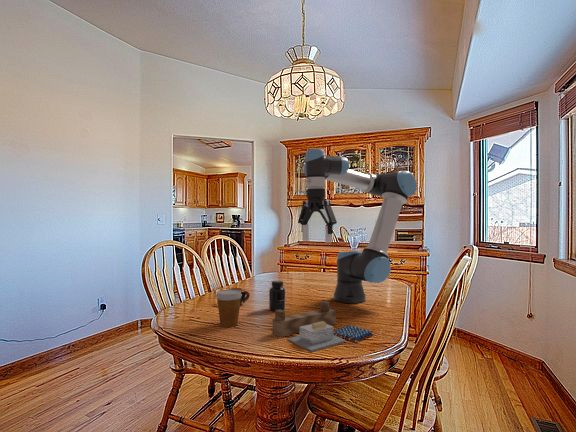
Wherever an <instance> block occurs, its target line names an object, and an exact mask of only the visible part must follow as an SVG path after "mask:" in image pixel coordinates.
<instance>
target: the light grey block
mask: <svg viewBox="0 0 576 432" xmlns="http://www.w3.org/2000/svg"><path fill="white" fill-rule="evenodd" d="M333 331H334V325H328V324H326V322H323V321H321V322H317V323H313V324H310V325H306V326H301V327H300V333H299V336H300V340H302V341H304V342H306V343H308V344H311V345H313V344H317V343H321V342H324V341H328V340H332V339H333V335H334V334H333V333H334V332H333Z"/></svg>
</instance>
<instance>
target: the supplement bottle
mask: <svg viewBox="0 0 576 432" xmlns="http://www.w3.org/2000/svg"><path fill="white" fill-rule="evenodd" d="M268 292H269V295H268V297H269V299H268V308H269V310H270V311H272V312H275V310H279V309H280V310H283V311H285V310H286V288H285V287H284V281H282V280H271V287H270V288H269V290H268Z"/></svg>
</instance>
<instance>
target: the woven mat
mask: <svg viewBox="0 0 576 432" xmlns="http://www.w3.org/2000/svg"><path fill="white" fill-rule="evenodd" d="M333 335H334V336H337V337H339V338H342V339H343V338H344V340H347V339H348V341H351V342H354V343H358V341H359V342H361V341H362V340H366V339H367V338H369V337H372V336H374V331H372V330H370V329H366V328H361V327H359V326H354V325H350V324H349V325H346V326H343V327H340V328H338V329H335V330H333ZM345 338H346V339H345ZM360 340H361V341H360Z"/></svg>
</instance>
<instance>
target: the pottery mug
mask: <svg viewBox="0 0 576 432" xmlns="http://www.w3.org/2000/svg"><path fill="white" fill-rule="evenodd" d="M229 289H230V288H228V289H227V290H229ZM231 289H233V290H239V291H241V294H242V296H241V300H240V307H241V306H242V304H245V303H246V302H247V301H248V300H249V298H250V297H251V294H250V292H249V291H248V290H244V291H243V288H239V287H232V288H231Z"/></svg>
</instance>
